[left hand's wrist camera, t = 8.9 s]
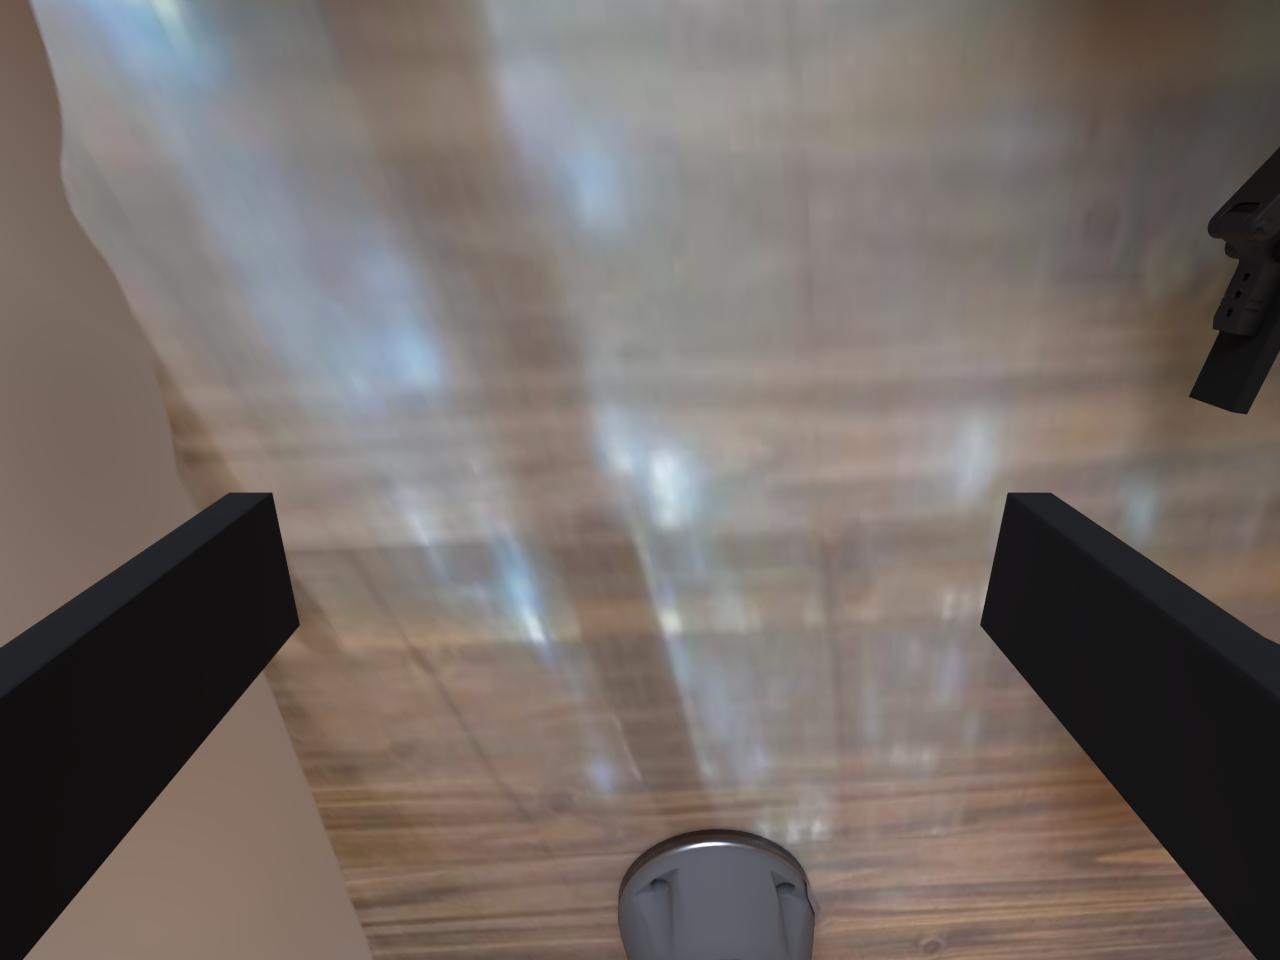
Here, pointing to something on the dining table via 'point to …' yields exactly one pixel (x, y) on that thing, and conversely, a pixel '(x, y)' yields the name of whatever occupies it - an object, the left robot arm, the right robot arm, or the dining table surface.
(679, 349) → the dining table surface
